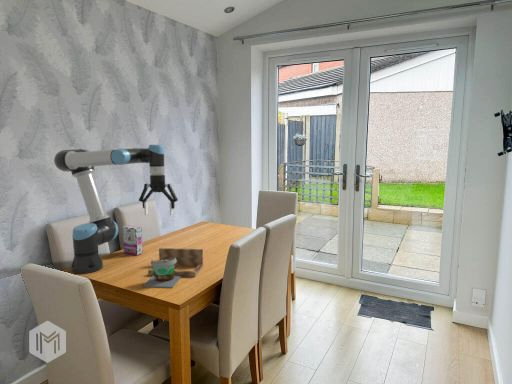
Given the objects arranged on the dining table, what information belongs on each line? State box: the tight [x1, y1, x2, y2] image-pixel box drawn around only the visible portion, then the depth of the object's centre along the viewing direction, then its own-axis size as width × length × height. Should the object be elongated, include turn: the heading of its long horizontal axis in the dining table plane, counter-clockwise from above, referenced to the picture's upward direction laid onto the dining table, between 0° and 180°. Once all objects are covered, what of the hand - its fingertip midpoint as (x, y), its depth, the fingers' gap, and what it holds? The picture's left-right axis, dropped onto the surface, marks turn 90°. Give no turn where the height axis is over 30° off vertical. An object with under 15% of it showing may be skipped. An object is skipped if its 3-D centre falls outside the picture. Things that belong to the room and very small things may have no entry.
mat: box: [142, 275, 182, 289], centre depth 172 cm, size 14×14×1 cm
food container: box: [150, 257, 177, 282], centre depth 171 cm, size 12×6×10 cm, turn 107°
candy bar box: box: [122, 225, 144, 256], centre depth 215 cm, size 11×5×16 cm, turn 62°
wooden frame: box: [147, 247, 204, 278], centre depth 187 cm, size 24×18×9 cm
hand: (158, 214), depth 188 cm, fingers open, 13 cm apart
